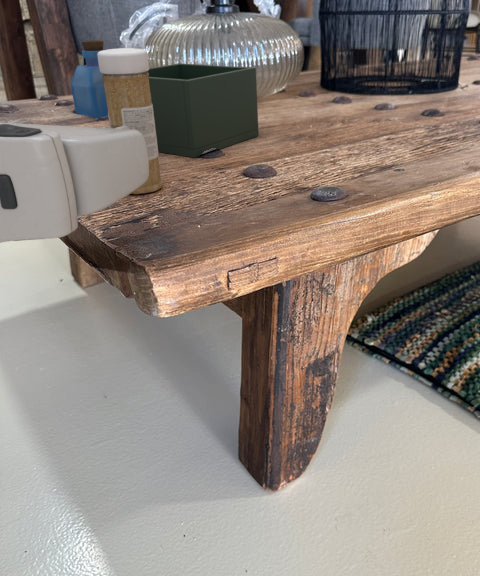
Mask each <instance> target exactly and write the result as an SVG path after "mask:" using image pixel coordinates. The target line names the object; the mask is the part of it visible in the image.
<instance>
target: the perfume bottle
mask: <svg viewBox="0 0 480 576" xmlns="http://www.w3.org/2000/svg"><path fill="white" fill-rule="evenodd" d="M81 45H82V47H83V50H81V53H82V58H83V59H85V60H84V61H85V64H82V65H77V66H76V68H75V71H74V74H73V76H72V77H71V78H72V79H71V81H70V83H69V85H70V88H71V89H70V90H71V93H72V100H73V104H74V105H73V106H74V110H75V113H76V114H77V115H82V116H86V117H90V118H94V119H98V118H104V117H109V116H108V107H107V100H106V93H105V87H104V80H103V77H102V75H103V73H101V72H100V69H99V63H98V56H97V54H98V52H100V51H103V50H107V49H106V48H105V49H104V40H100V39H97V40H96V39H95V40H81Z"/></svg>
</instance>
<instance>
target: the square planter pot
mask: <svg viewBox="0 0 480 576" xmlns="http://www.w3.org/2000/svg"><path fill="white" fill-rule="evenodd" d="M148 73H149V76H148V79H149V86H150V93H151V102H152V104H153V112H154V120H155V129H156V137H157V146H158V153H163V154H168V155H169V154H170V155H175V156H182V157H186V158H187V157H188V158H193V159H196V158H198V157H201V156H200V155H201V154H202V153H203V152H204V151H206V150H209V149H211V148H216V149H219V150H222V149H225V148H228V147H231V146H233V145H236V144H240V143H242V142H244V141H247V140H250V139H253V138H256V137H259V136H260V135H259V111H258V109H259V108H258V89H257V88H258V87H257V68H256V67H249V66H231V65H217V64H216V65H215V64H198V63H197V64H196V63H181V62H180V63H179V62H178V63H173V64H167V65H160V66H154V67H153V66H152V67H149V70H148Z"/></svg>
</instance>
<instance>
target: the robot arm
mask: <svg viewBox="0 0 480 576" xmlns="http://www.w3.org/2000/svg"><path fill="white" fill-rule="evenodd" d="M148 177H149V159H148V152H147V146H146V142H145V139H144V137H143V135H142V133H141V132H140V131H138V130H135V129H130V128H129V127H128V126H114V125H111V126H110V125H109V126H106V127H91V126H78V125H77V126H76V125H58V124H57V125H56V124H38V123H33V122H32V121H30V120H18V119H15V120H11V121H8V122H2V121H0V244H2V243H8V242H18V241H19V242H20V241H33V240H46V239H50V240H51V239H60V238H63V237H66V236H68V235H70V234H71V233H74V232H75V231H76V230H77V229H78V228H79V222H78V221H79V219H78V217H82V216H83V217H84V216H88V215H92V214H95V213H98V212H100V211H102V210H105V209H106V208H108V207H110V206H112V205H114V204H116V203H117V202H119V201H121V200H122V199H124V198H126V197H127V196H129V195H131V194H130V193H132V192H133V191H135V190H136V189H138V188H139V187H140V186H142V185H143V184H144V183H145V182H146V181H147V179H148Z"/></svg>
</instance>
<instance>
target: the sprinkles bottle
mask: <svg viewBox="0 0 480 576" xmlns="http://www.w3.org/2000/svg"><path fill="white" fill-rule="evenodd" d="M97 56H98V63H99V69H100V72H101V73H103V75H102V77H103V80H104V87H105V93H106V100H107V107H108V116H107V117H108V122H109V127H110V126H111V125H114V126H128V127H129V128H130V129H135V130H138V131H140V132H141V133H142V135H143V137H144V139H145V142H146V146H147V152H148V159H149V177H148V179H147V181H146V182H145V183H144V184H143V185H142V186H140V187H139V188H138V189H136V190H135V191H133V192H132V193H130V194H129V195H139V194H147V193H153V192H157V191H158V190H160V189H162V187H163V185H164V182H163V180H162V178H161V170H160V161H159V156H160V155H159V152H158V146H157V137H156V129H155V120H154V112H153V104H152V102H151V93H150V86H149V79H148V76H149V73H148V70H149V68H150V62H149V56H148V52H147V50H146V49H144V48H136V47H122V48H109V49H106V50H103V51H100V52H98V54H97Z"/></svg>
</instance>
